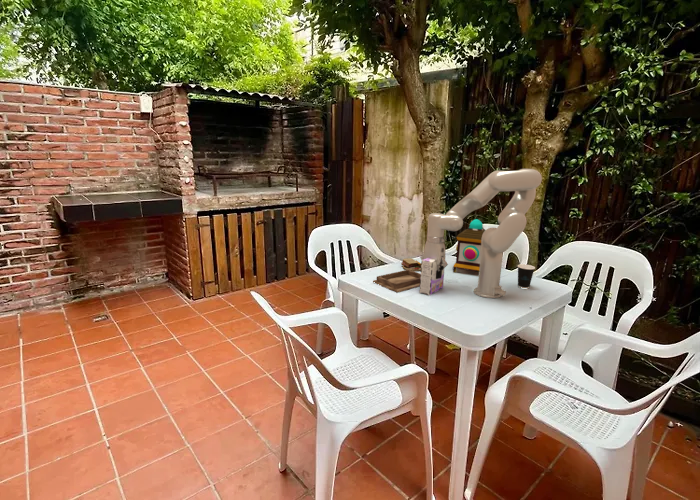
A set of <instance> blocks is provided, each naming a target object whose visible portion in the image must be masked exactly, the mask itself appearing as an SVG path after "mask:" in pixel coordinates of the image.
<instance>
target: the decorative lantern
mask: <svg viewBox="0 0 700 500" xmlns="http://www.w3.org/2000/svg"><path fill="white" fill-rule="evenodd" d="M483 224H484V223H482V221H481V220H479V219H478V218H475V219H473V220H472V221H471V222H470V223H469V227H468V228H467V229H464V230H462V231H461V232H460V233H458V234H457V236H456V240H457V244H456V245H455V246H456V247H455V250H456V258H455V262H454V264H453V267H452V272H453V273H456V272H457V270H458V269H459V270H466V271H472V272H478V273H479V269H480V259H481V238H482V235H483V233H484V231H485V230H486V229H485V228H484V226H483Z"/></svg>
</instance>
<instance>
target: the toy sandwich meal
mask: <svg viewBox="0 0 700 500" xmlns="http://www.w3.org/2000/svg"><path fill="white" fill-rule="evenodd" d="M400 264H401V266H402V268H403V269H404V270H411V271H414V272H421V262H419V260H417V259H416V260H415V259H414V258H412V257H411V258H409V257H407V258H403V259H402V262H401V263H400Z"/></svg>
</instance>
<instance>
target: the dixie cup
mask: <svg viewBox="0 0 700 500" xmlns="http://www.w3.org/2000/svg"><path fill="white" fill-rule="evenodd" d="M535 269H536V267H535V266H533V265H531V264H523V263H522V264H518V265H517V287H518V286H519V287H522V288H528V287H529V288H530V287H531V282H532V279H533V274H534V272H535ZM519 287H518V288H519Z"/></svg>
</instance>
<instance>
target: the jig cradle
mask: <svg viewBox="0 0 700 500" xmlns="http://www.w3.org/2000/svg"><path fill="white" fill-rule="evenodd" d="M420 277H421V272H418V271H411V270H406V269H404V270H400V271H396V272H391V273H386V274H382V275H378V276H376V279H373V280H372V283H373V282H375V283H377V284H376V285H378V284H379V285H378V286H380V285H381V287H383V288H386V289H387V290H389V291H392V292H394V293H396V294H398V293H401V292H405V291H409V290H413V289H416V288H420ZM375 283H374V284H375Z"/></svg>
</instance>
